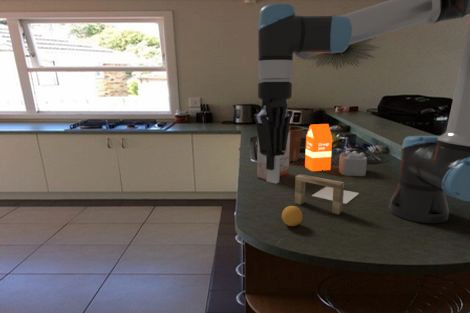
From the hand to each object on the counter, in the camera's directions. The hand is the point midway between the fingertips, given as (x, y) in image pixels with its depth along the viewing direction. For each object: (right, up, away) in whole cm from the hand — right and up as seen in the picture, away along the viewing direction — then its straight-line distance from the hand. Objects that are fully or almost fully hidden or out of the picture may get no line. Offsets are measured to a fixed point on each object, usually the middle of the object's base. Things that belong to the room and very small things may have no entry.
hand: (272, 181), depth 76 cm
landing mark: (+26, -7, +33) cm, 42 cm away
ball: (+6, -10, +10) cm, 16 cm away
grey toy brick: (+41, -1, +61) cm, 73 cm away
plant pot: (+17, +5, +84) cm, 86 cm away
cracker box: (+7, -2, +56) cm, 57 cm away
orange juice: (+28, 0, +66) cm, 72 cm away
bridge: (+17, -10, +23) cm, 30 cm away
